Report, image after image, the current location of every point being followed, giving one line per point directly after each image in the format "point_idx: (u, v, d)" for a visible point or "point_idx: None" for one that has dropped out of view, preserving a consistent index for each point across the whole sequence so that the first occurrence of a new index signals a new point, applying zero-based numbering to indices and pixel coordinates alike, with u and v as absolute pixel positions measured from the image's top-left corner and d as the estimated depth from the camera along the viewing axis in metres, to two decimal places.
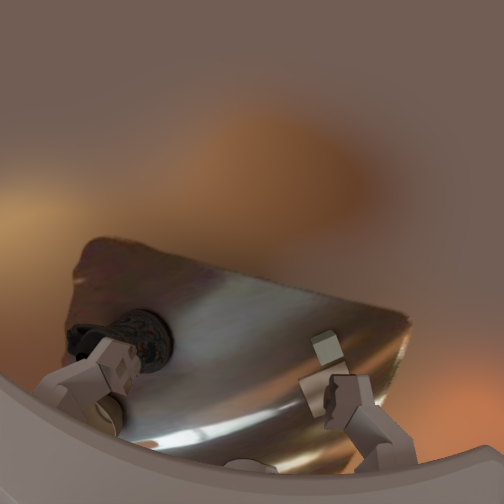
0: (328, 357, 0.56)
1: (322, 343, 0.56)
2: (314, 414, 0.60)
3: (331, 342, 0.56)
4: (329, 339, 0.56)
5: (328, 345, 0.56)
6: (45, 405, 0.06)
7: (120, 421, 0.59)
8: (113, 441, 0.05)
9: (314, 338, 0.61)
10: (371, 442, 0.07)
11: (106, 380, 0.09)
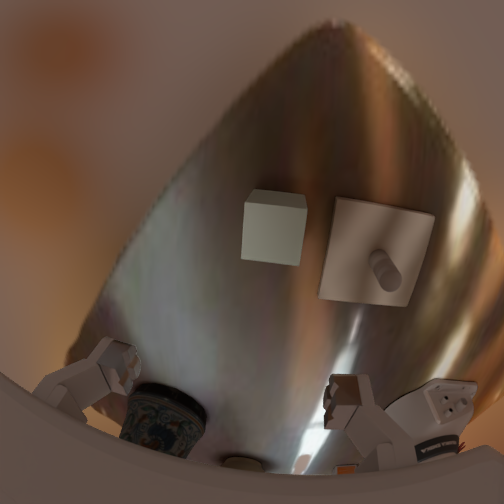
0: (289, 243, 0.25)
1: (248, 239, 0.25)
2: (400, 303, 0.31)
3: (257, 220, 0.24)
4: (248, 220, 0.24)
5: (260, 229, 0.25)
6: (45, 405, 0.06)
7: None
8: (113, 441, 0.05)
9: None
10: (371, 442, 0.07)
11: (106, 380, 0.09)
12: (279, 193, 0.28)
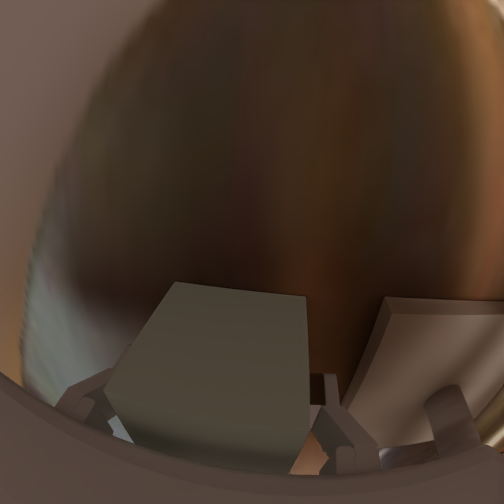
0: (253, 469, 0.07)
1: (149, 448, 0.07)
2: None
3: (154, 430, 0.06)
4: (131, 424, 0.07)
5: (170, 444, 0.07)
6: (45, 405, 0.06)
7: None
8: (113, 441, 0.05)
9: None
10: (335, 444, 0.07)
11: None
12: (235, 302, 0.10)
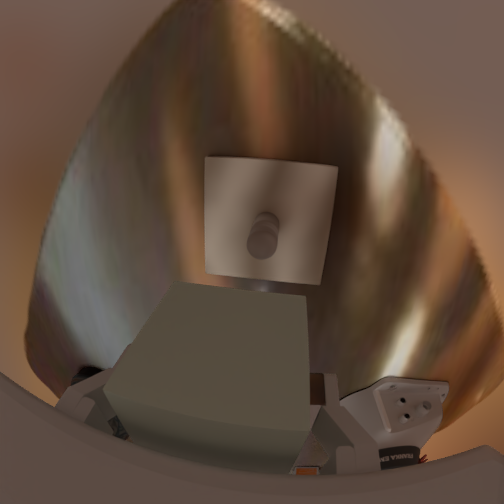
0: (252, 469, 0.07)
1: (148, 448, 0.07)
2: (310, 280, 0.28)
3: (153, 429, 0.06)
4: (130, 424, 0.07)
5: (170, 444, 0.07)
6: (45, 405, 0.06)
7: None
8: (113, 441, 0.05)
9: None
10: (335, 444, 0.07)
11: None
12: (235, 302, 0.10)
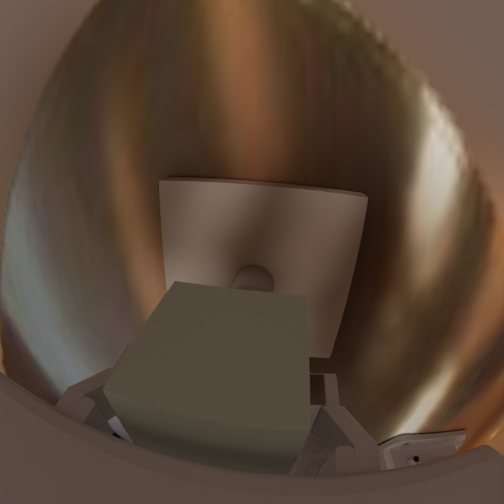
0: (253, 470, 0.07)
1: (148, 448, 0.07)
2: (316, 353, 0.19)
3: (153, 430, 0.06)
4: (130, 424, 0.07)
5: (170, 444, 0.07)
6: (45, 405, 0.06)
7: None
8: (113, 441, 0.05)
9: None
10: (335, 444, 0.07)
11: None
12: (235, 302, 0.10)
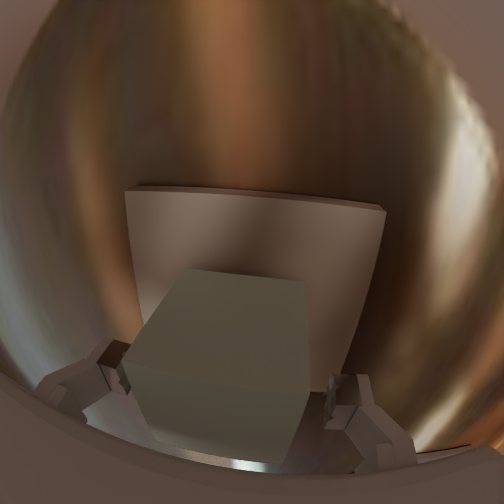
0: (257, 441, 0.08)
1: (159, 423, 0.08)
2: (317, 388, 0.16)
3: (166, 400, 0.08)
4: (144, 396, 0.08)
5: (180, 416, 0.08)
6: (45, 405, 0.06)
7: None
8: (113, 441, 0.05)
9: None
10: (371, 442, 0.07)
11: (106, 380, 0.09)
12: (241, 286, 0.11)
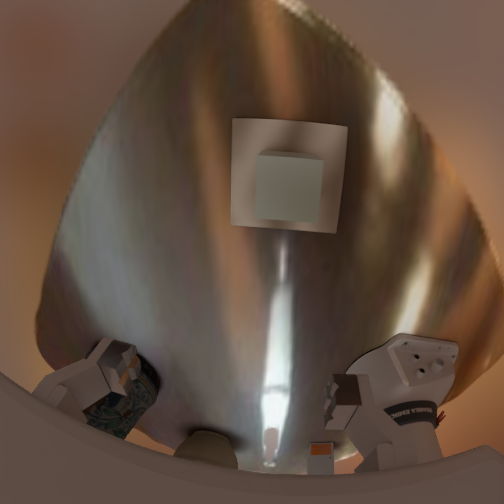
0: (306, 198, 0.23)
1: (262, 195, 0.23)
2: (327, 229, 0.31)
3: (271, 174, 0.22)
4: (260, 175, 0.22)
5: (275, 184, 0.22)
6: (44, 405, 0.06)
7: (214, 449, 0.49)
8: (113, 441, 0.05)
9: None
10: (371, 442, 0.07)
11: (106, 380, 0.09)
12: (289, 152, 0.26)
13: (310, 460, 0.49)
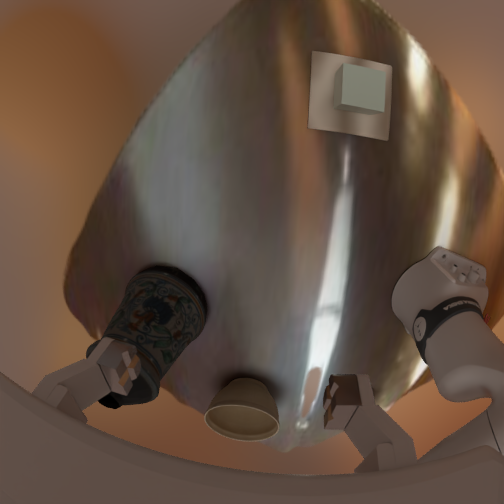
0: (376, 93, 0.26)
1: (347, 89, 0.27)
2: (381, 137, 0.34)
3: (352, 75, 0.26)
4: (346, 75, 0.26)
5: (355, 82, 0.26)
6: (45, 405, 0.06)
7: (257, 393, 0.52)
8: (113, 441, 0.05)
9: (335, 100, 0.31)
10: (371, 442, 0.07)
11: (106, 380, 0.09)
12: None
13: None
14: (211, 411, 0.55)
